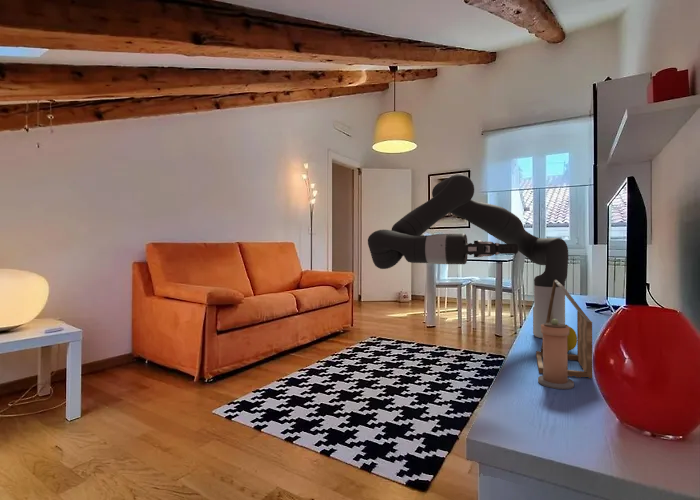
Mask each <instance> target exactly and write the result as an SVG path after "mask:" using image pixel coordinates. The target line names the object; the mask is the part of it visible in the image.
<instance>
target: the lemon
mask: <svg viewBox="0 0 700 500" xmlns="http://www.w3.org/2000/svg"><path fill="white" fill-rule="evenodd" d="M565 325H566V326H569V325H568V324H565ZM569 334H570V335H568V336H567V352H569V351H573V350H574V349H575V348H576V346H577V333H576V331H575V329H574V328H573V327H571V326H569Z"/></svg>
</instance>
